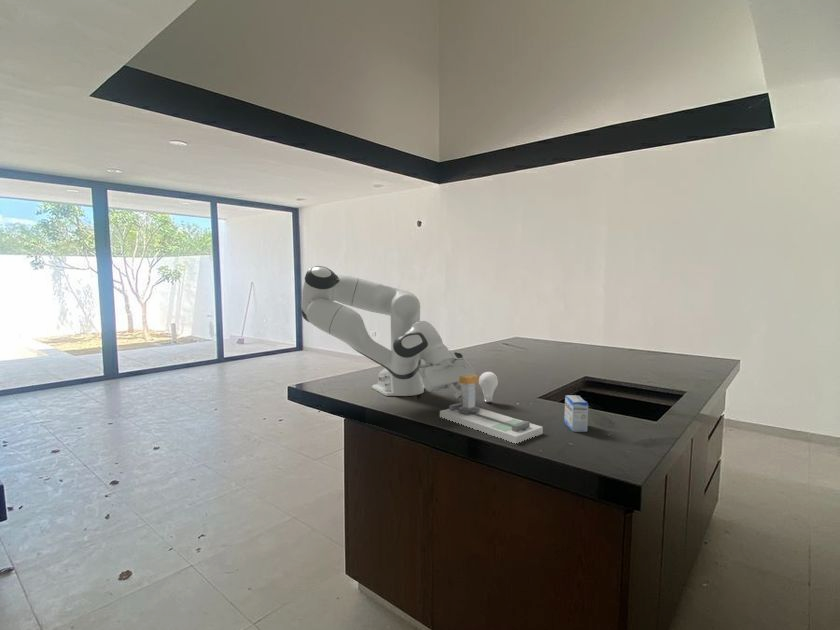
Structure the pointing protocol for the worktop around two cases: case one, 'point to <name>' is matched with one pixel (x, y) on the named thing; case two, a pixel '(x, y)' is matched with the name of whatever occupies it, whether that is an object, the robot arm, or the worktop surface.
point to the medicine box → (576, 413)
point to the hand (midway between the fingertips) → (461, 396)
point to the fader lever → (469, 394)
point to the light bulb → (488, 385)
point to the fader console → (493, 424)
